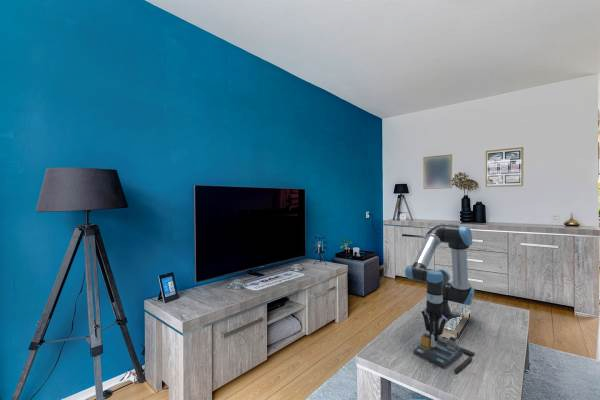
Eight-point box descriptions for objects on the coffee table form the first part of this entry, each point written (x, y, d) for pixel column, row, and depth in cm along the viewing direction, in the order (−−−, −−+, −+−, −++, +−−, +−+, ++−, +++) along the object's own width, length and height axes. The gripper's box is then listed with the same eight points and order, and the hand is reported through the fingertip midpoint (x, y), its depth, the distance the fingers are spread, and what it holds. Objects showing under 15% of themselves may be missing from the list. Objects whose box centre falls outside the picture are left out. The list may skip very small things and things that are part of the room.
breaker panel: (431, 341, 156) (432, 326, 156) (462, 354, 144) (462, 338, 143) (413, 353, 145) (413, 337, 145) (444, 369, 132) (445, 351, 132)
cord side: (468, 359, 140) (468, 356, 140) (472, 360, 139) (472, 357, 138) (453, 372, 130) (453, 369, 130) (457, 374, 128) (457, 370, 128)
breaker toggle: (424, 344, 150) (425, 332, 149) (432, 347, 146) (432, 335, 146) (420, 346, 147) (421, 334, 147) (428, 350, 144) (428, 337, 144)
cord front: (434, 338, 160) (434, 335, 160) (474, 354, 144) (474, 351, 143) (431, 339, 158) (431, 337, 158) (472, 357, 141) (472, 354, 141)
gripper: (418, 299, 146) (418, 343, 147) (443, 307, 136) (443, 354, 136) (425, 295, 150) (425, 338, 151) (450, 303, 140) (450, 349, 141)
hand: (433, 346), depth 144 cm, fingers closed
